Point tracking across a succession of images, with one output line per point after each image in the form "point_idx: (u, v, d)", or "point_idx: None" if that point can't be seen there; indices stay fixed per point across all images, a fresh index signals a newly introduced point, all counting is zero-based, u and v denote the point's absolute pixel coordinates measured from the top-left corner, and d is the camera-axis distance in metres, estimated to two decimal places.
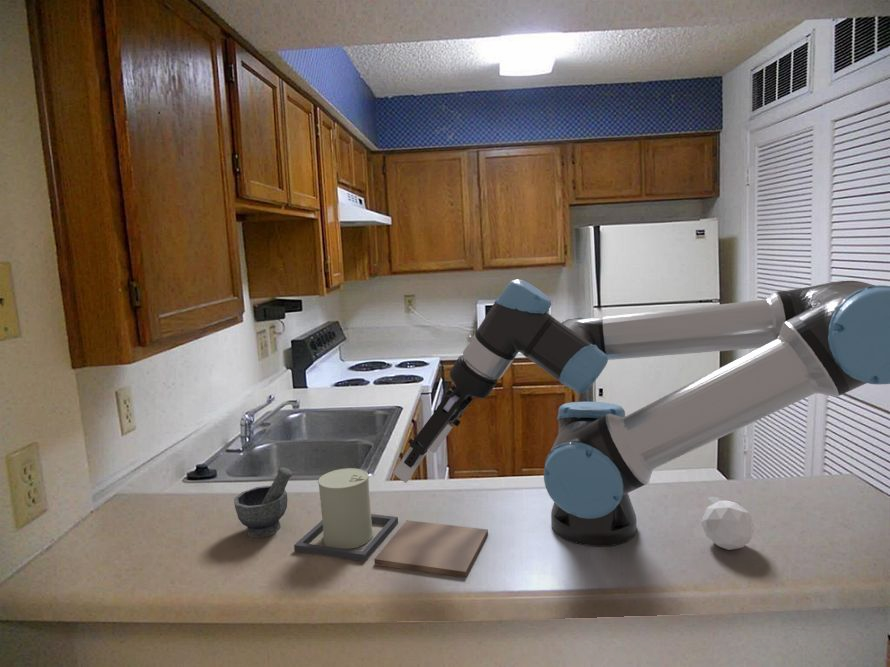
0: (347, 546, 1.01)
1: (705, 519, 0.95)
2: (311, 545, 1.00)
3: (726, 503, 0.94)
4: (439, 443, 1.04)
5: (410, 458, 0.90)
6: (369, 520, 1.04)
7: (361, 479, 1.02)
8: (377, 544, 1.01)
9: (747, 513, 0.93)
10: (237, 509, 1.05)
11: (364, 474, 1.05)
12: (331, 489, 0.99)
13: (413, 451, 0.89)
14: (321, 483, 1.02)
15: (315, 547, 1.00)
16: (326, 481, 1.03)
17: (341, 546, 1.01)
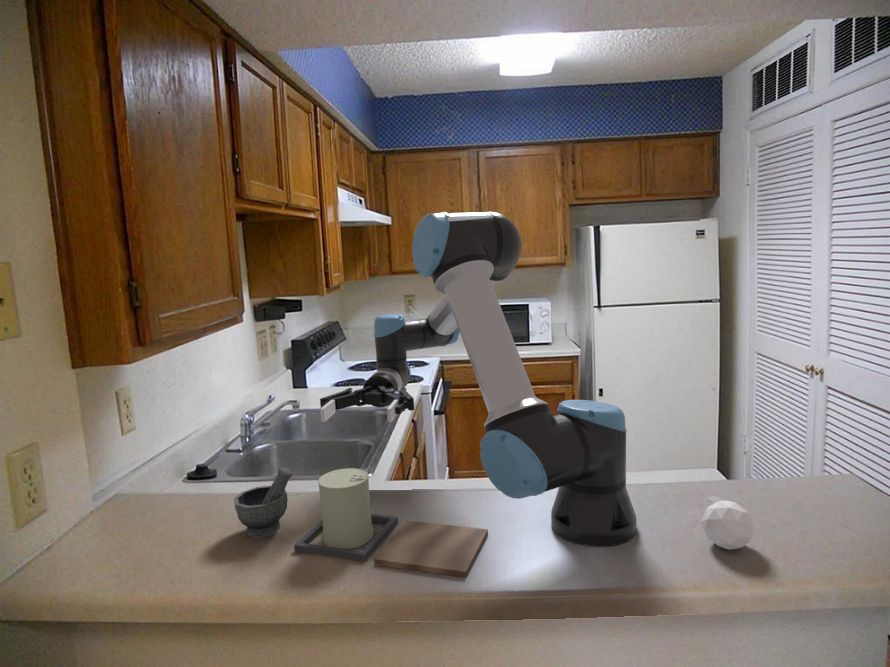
0: (347, 546, 1.01)
1: (705, 519, 0.95)
2: (311, 545, 1.00)
3: (726, 503, 0.94)
4: None
5: None
6: (369, 520, 1.04)
7: (361, 479, 1.02)
8: (377, 544, 1.01)
9: (747, 513, 0.93)
10: (237, 509, 1.05)
11: (364, 474, 1.05)
12: (331, 489, 0.99)
13: None
14: (321, 483, 1.02)
15: (315, 547, 1.00)
16: (326, 481, 1.03)
17: (341, 546, 1.01)
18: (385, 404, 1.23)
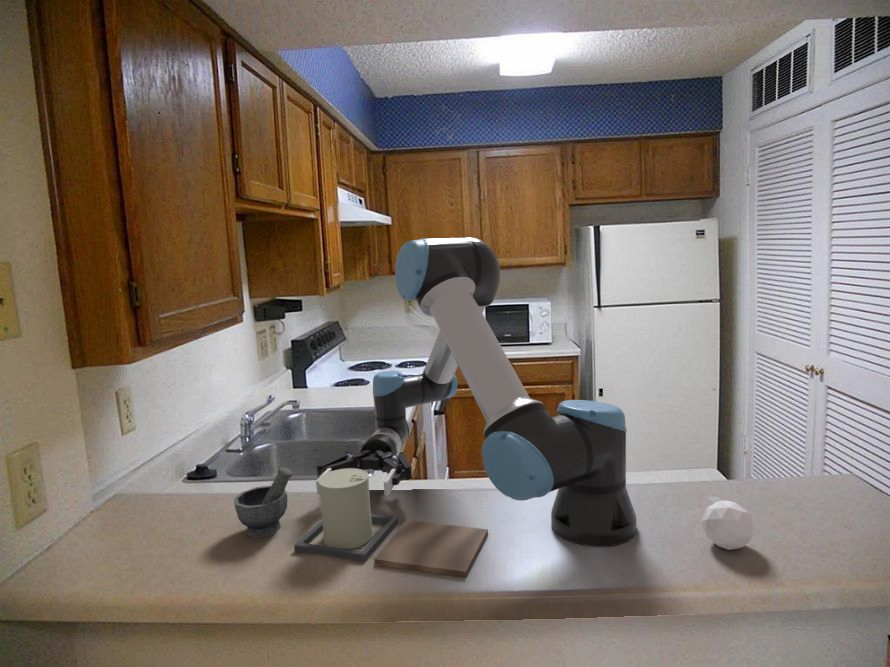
0: (347, 546, 1.01)
1: (705, 519, 0.95)
2: (311, 545, 1.00)
3: (726, 503, 0.94)
4: None
5: None
6: (369, 520, 1.04)
7: (361, 479, 1.02)
8: (377, 544, 1.01)
9: (747, 513, 0.93)
10: (237, 509, 1.05)
11: (364, 474, 1.05)
12: (331, 489, 0.99)
13: None
14: (321, 483, 1.02)
15: (315, 547, 1.00)
16: (326, 481, 1.03)
17: (341, 546, 1.01)
18: (383, 470, 1.21)
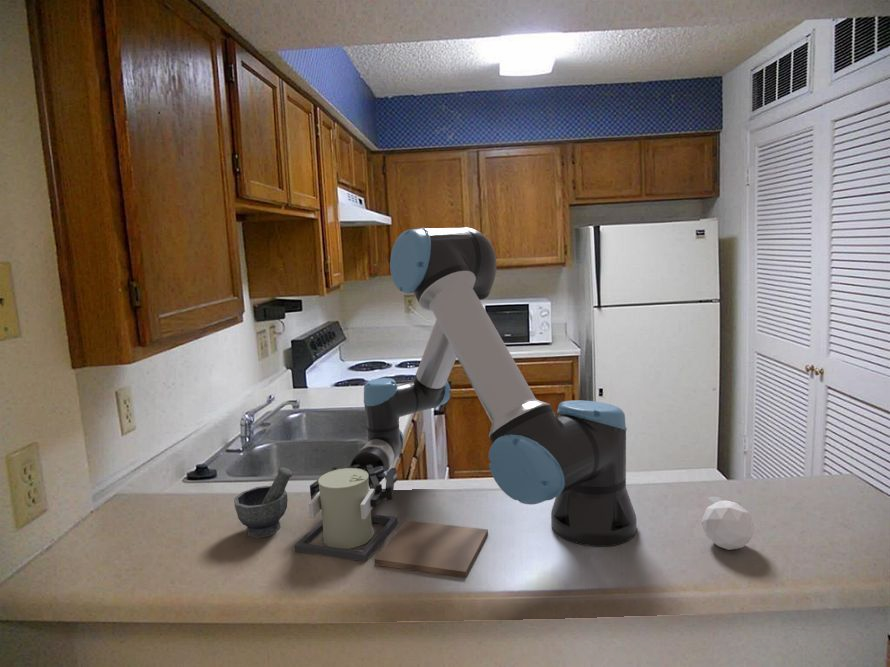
0: (347, 546, 1.01)
1: (705, 519, 0.95)
2: (311, 545, 1.00)
3: (726, 503, 0.94)
4: None
5: None
6: (369, 520, 1.04)
7: (361, 479, 1.02)
8: (377, 544, 1.01)
9: (747, 513, 0.93)
10: (237, 509, 1.05)
11: (364, 474, 1.05)
12: (331, 489, 0.99)
13: None
14: (321, 483, 1.02)
15: (315, 547, 1.00)
16: (326, 481, 1.03)
17: (341, 546, 1.01)
18: (370, 487, 1.12)
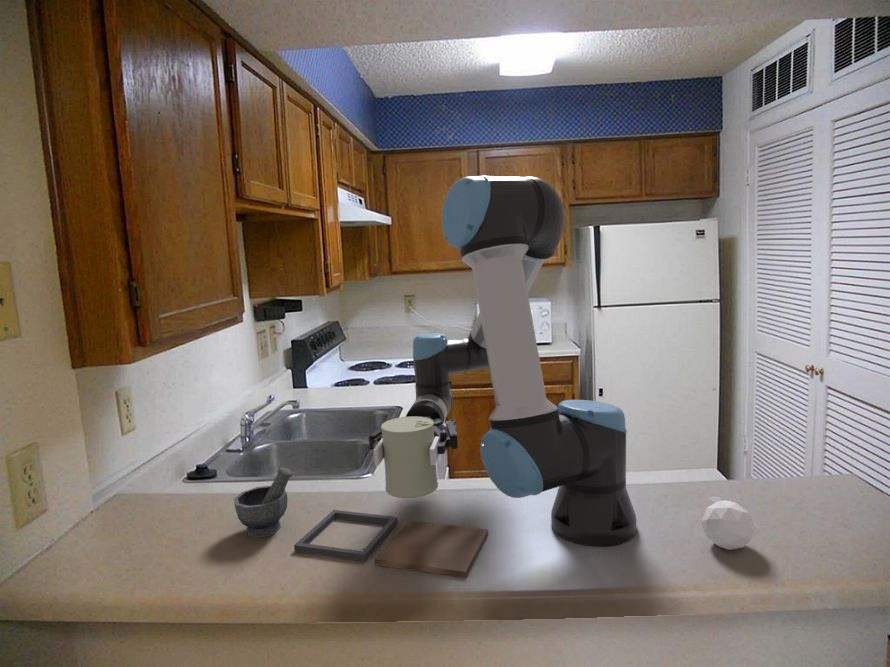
0: (414, 495, 0.95)
1: (705, 519, 0.95)
2: (311, 545, 1.00)
3: (726, 503, 0.94)
4: None
5: None
6: (435, 468, 0.98)
7: (427, 424, 0.97)
8: (377, 544, 1.01)
9: (747, 513, 0.93)
10: (237, 509, 1.05)
11: (428, 420, 0.99)
12: (397, 433, 0.94)
13: None
14: (385, 429, 0.96)
15: (315, 547, 1.00)
16: (390, 427, 0.97)
17: (408, 495, 0.95)
18: None
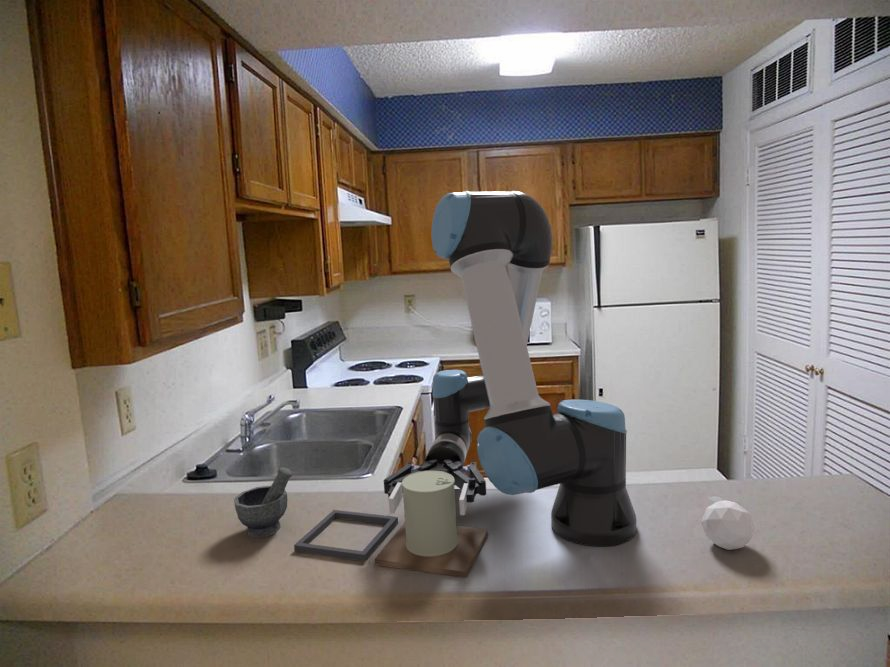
0: (434, 553, 0.95)
1: (705, 519, 0.95)
2: (311, 545, 1.00)
3: (726, 503, 0.94)
4: (461, 494, 0.95)
5: None
6: (455, 526, 0.98)
7: (448, 482, 0.96)
8: (377, 544, 1.01)
9: (747, 513, 0.93)
10: (237, 509, 1.05)
11: (449, 477, 0.99)
12: (418, 493, 0.93)
13: None
14: (406, 486, 0.96)
15: (315, 547, 1.00)
16: (410, 484, 0.97)
17: (428, 553, 0.95)
18: None
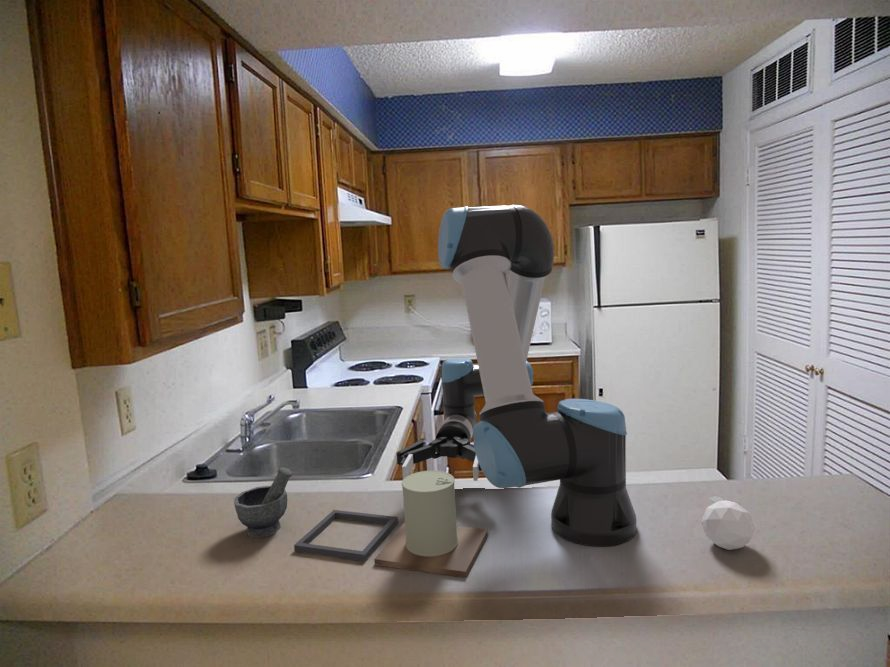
0: (434, 553, 0.95)
1: (705, 519, 0.95)
2: (311, 545, 1.00)
3: (726, 503, 0.94)
4: (474, 463, 1.08)
5: None
6: (455, 526, 0.98)
7: (448, 482, 0.96)
8: (377, 544, 1.01)
9: (747, 513, 0.93)
10: (237, 509, 1.05)
11: (449, 477, 0.99)
12: (418, 493, 0.93)
13: None
14: (406, 486, 0.96)
15: (315, 547, 1.00)
16: (410, 484, 0.97)
17: (428, 553, 0.95)
18: (462, 457, 1.19)
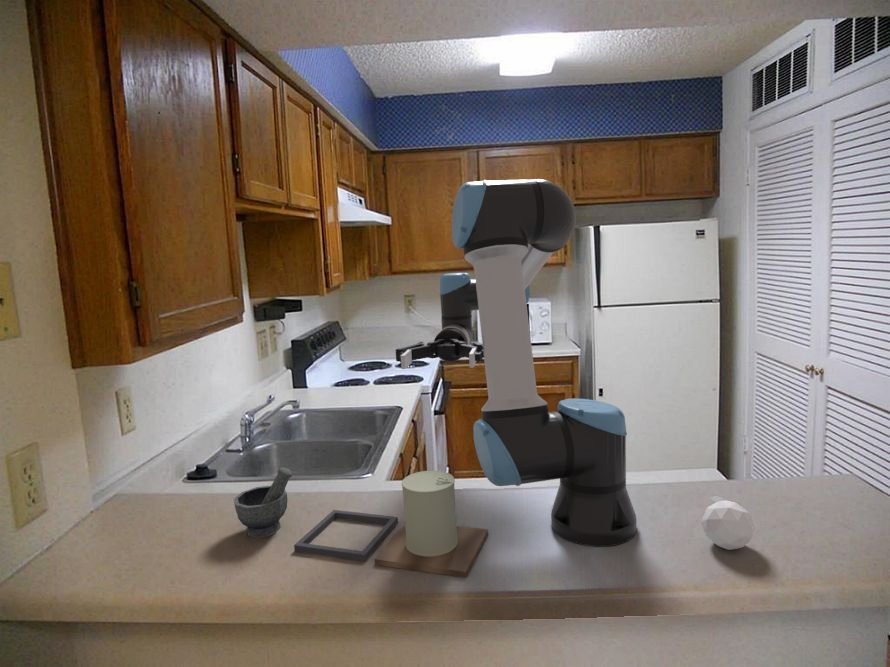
0: (434, 553, 0.95)
1: (705, 519, 0.95)
2: (311, 545, 1.00)
3: (726, 503, 0.94)
4: (470, 353, 1.12)
5: None
6: (455, 526, 0.98)
7: (448, 482, 0.96)
8: (377, 544, 1.01)
9: (747, 513, 0.93)
10: (237, 509, 1.05)
11: (449, 477, 0.99)
12: (418, 493, 0.93)
13: None
14: (406, 486, 0.96)
15: (315, 547, 1.00)
16: (410, 484, 0.97)
17: (428, 553, 0.95)
18: (459, 356, 1.22)
